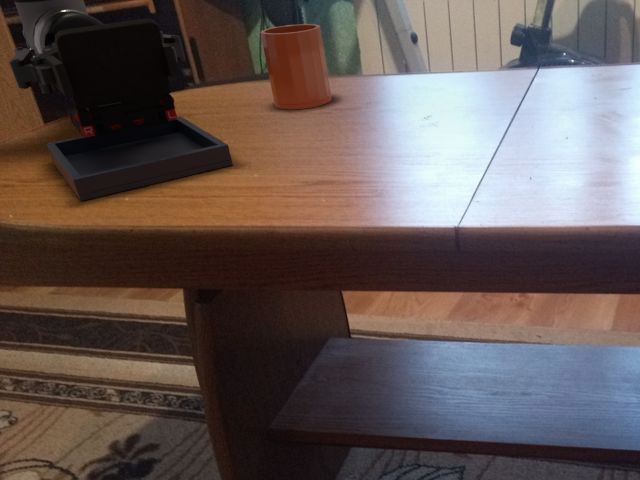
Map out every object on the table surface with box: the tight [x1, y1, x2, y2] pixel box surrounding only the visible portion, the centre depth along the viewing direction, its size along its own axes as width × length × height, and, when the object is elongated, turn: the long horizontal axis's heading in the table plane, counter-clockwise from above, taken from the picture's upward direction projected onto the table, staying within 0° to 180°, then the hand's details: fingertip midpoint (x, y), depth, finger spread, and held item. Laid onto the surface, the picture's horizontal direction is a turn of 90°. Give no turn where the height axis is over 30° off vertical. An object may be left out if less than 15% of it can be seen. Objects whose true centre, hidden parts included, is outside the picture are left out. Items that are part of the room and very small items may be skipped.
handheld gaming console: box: [55, 18, 178, 137], centre depth 73 cm, size 9×12×10 cm
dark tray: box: [45, 116, 233, 202], centre depth 77 cm, size 17×15×2 cm
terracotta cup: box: [260, 23, 333, 110], centre depth 94 cm, size 7×7×9 cm
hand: (119, 70), depth 69 cm, fingers closed on handheld gaming console, 9 cm apart
